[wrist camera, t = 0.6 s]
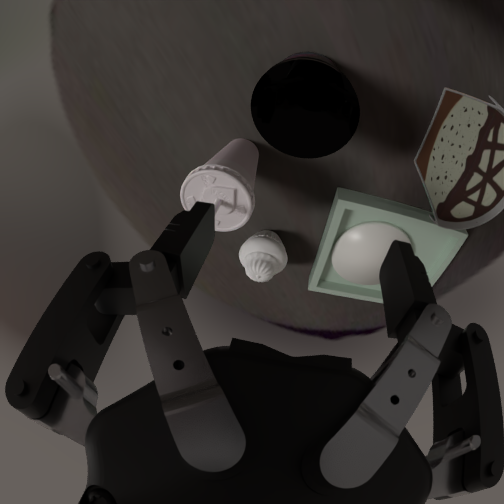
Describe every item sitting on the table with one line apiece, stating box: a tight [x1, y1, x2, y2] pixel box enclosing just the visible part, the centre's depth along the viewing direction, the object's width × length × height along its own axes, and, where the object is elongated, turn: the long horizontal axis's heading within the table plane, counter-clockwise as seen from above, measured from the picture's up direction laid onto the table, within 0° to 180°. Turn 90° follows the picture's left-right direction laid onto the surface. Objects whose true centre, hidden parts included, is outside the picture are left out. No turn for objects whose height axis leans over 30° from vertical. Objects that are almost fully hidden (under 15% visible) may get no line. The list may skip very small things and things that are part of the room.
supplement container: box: [251, 52, 360, 158], centre depth 18 cm, size 7×7×10 cm
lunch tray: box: [308, 187, 468, 303], centre depth 34 cm, size 16×18×2 cm
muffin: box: [239, 230, 288, 282], centre depth 35 cm, size 6×6×7 cm
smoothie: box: [180, 138, 259, 232], centre depth 24 cm, size 6×6×14 cm
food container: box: [414, 87, 504, 230], centre depth 18 cm, size 12×6×10 cm, turn 172°
